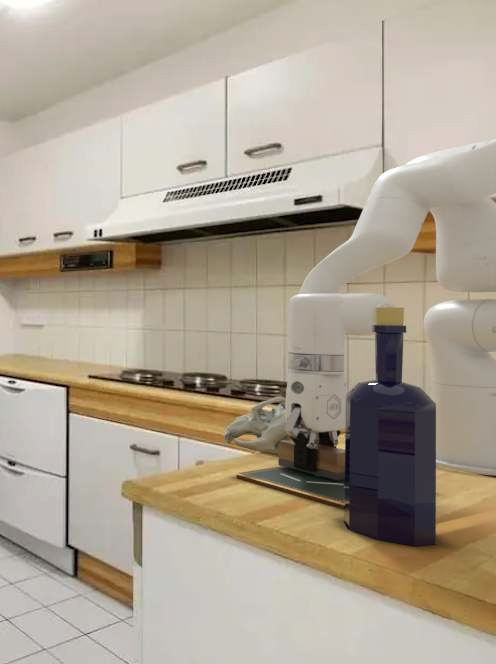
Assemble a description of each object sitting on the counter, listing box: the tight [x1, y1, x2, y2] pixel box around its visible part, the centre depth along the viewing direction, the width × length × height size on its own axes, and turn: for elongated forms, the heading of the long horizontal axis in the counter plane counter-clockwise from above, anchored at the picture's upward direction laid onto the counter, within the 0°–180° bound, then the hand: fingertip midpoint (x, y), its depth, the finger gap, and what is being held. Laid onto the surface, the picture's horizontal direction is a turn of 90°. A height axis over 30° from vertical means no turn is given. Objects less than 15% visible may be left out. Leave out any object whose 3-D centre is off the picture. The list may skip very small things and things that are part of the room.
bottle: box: [343, 307, 438, 547], centre depth 73 cm, size 9×9×30 cm
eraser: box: [277, 439, 345, 480], centre depth 96 cm, size 4×9×4 cm, turn 20°
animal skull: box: [223, 396, 324, 455], centre depth 113 cm, size 18×12×13 cm
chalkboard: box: [236, 466, 345, 511], centre depth 92 cm, size 22×16×1 cm
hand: (314, 467), depth 96 cm, fingers closed on eraser, 4 cm apart
